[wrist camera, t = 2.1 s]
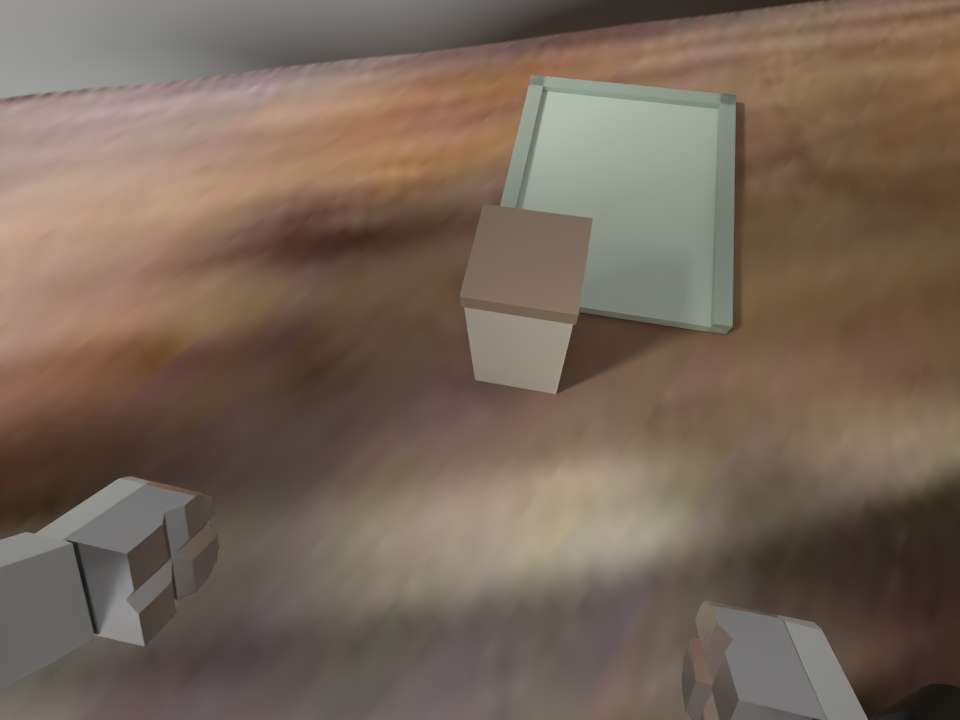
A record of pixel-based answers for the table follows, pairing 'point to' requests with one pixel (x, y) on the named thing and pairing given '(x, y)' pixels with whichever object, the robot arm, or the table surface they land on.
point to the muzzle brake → (925, 705)
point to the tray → (636, 193)
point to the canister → (523, 294)
